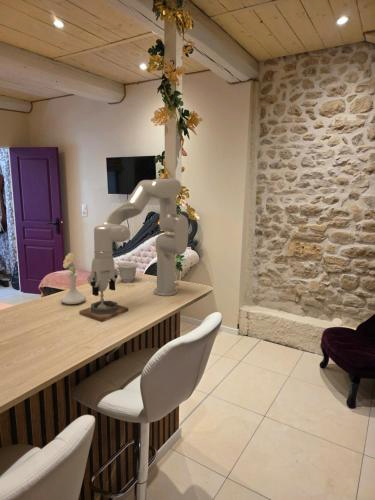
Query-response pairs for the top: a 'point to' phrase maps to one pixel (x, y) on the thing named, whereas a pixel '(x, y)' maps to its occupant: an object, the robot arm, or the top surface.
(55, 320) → the top surface
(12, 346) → the top surface
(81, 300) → the flower in vase
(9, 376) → the top surface
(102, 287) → the chalice
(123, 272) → the teacup
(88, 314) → the display stand
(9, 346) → the top surface
